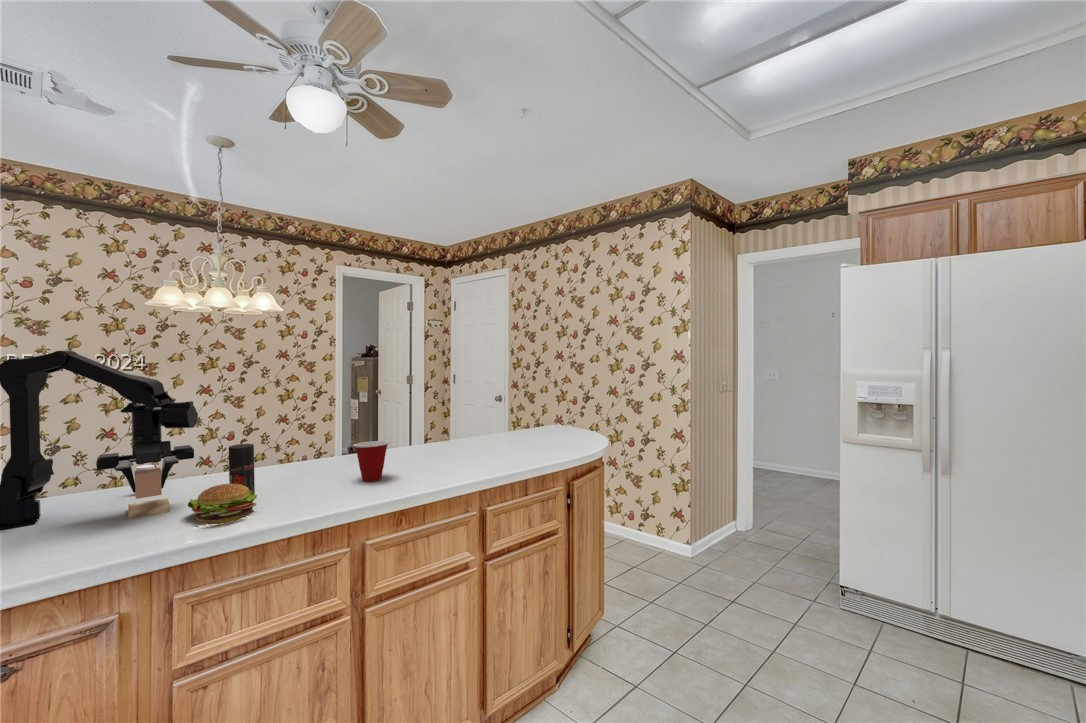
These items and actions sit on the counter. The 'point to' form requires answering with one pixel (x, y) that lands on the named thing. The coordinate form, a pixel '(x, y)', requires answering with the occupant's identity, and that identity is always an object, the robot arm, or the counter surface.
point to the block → (148, 483)
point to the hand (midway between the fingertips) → (148, 490)
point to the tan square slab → (148, 508)
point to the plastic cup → (371, 459)
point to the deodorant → (242, 465)
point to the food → (223, 503)
